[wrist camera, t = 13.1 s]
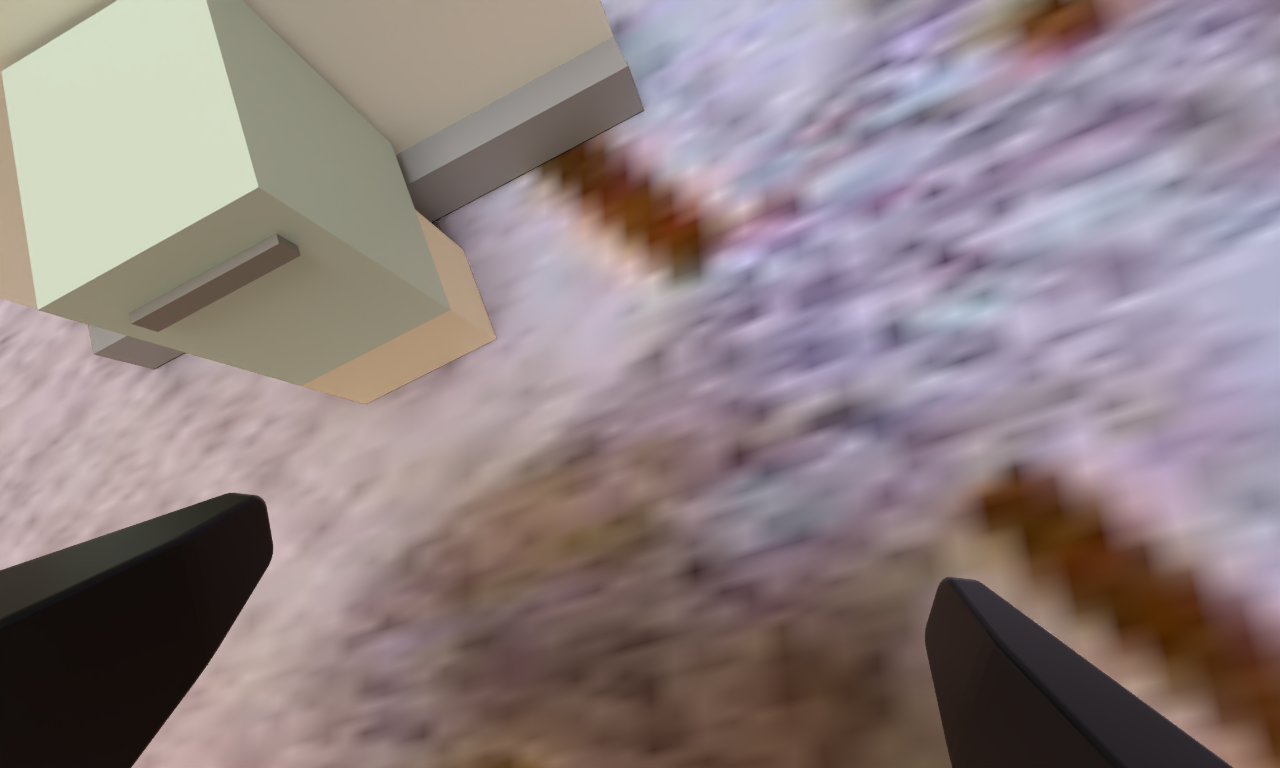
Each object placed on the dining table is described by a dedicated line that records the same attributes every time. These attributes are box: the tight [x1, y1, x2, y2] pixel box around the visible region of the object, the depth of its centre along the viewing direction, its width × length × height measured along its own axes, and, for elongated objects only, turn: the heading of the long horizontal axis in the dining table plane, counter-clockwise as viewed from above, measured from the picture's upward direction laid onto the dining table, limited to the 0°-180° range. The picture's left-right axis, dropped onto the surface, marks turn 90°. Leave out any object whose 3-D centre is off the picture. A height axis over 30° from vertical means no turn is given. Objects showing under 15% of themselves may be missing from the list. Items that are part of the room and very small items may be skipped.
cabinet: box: [1, 0, 496, 404], centre depth 18 cm, size 6×5×10 cm
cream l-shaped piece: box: [0, 0, 644, 369], centre depth 19 cm, size 10×20×12 cm, turn 113°
